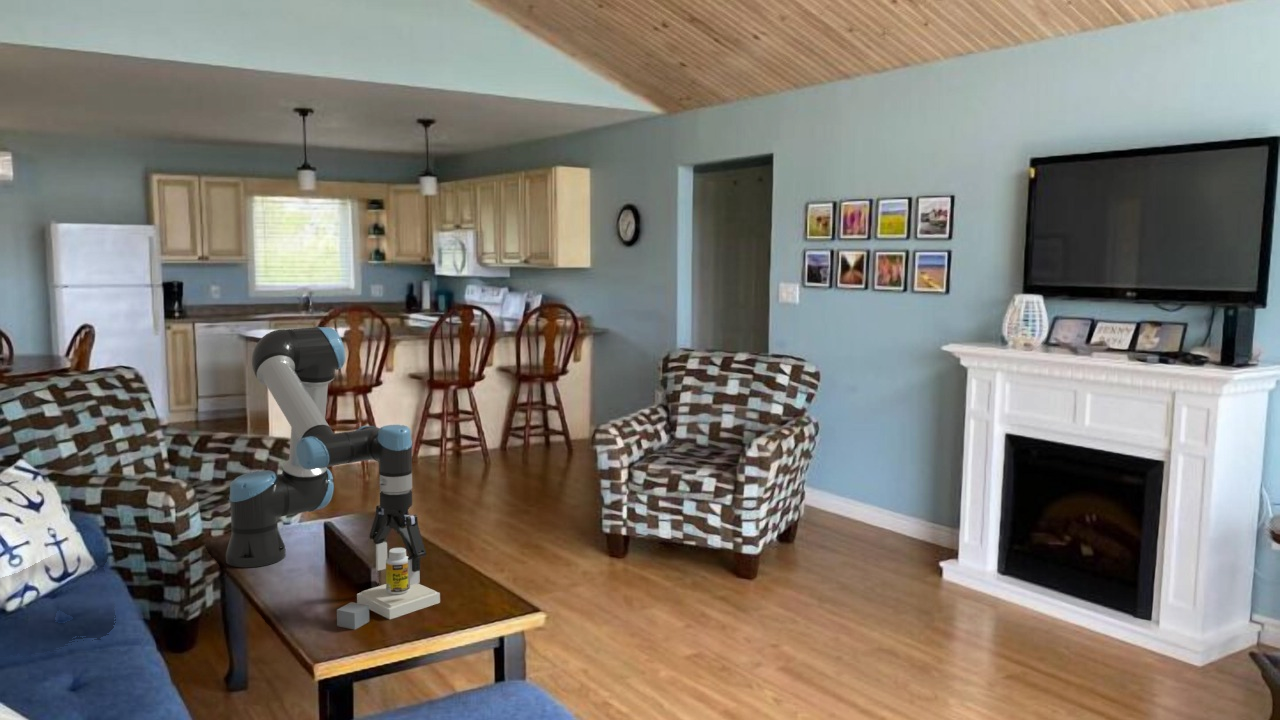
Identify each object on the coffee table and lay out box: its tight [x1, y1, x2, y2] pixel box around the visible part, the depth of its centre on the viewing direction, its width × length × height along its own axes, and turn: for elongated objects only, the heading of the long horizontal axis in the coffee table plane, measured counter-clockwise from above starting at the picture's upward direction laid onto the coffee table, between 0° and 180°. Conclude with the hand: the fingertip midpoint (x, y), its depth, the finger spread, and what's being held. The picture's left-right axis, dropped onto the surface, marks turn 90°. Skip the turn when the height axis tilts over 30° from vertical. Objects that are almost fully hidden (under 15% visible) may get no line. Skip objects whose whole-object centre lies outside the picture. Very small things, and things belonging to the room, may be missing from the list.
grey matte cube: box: [336, 601, 370, 631], centre depth 215 cm, size 5×5×4 cm
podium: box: [356, 583, 441, 620], centre depth 227 cm, size 14×14×3 cm
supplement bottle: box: [386, 547, 410, 594], centre depth 226 cm, size 6×6×10 cm
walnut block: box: [375, 563, 386, 586], centre depth 240 cm, size 5×4×5 cm
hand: (397, 576), depth 227 cm, fingers open, 13 cm apart
